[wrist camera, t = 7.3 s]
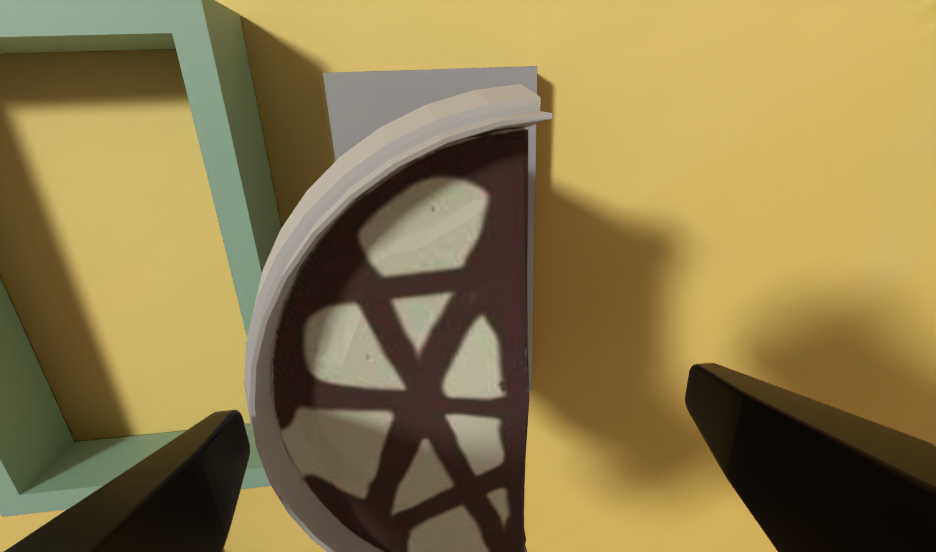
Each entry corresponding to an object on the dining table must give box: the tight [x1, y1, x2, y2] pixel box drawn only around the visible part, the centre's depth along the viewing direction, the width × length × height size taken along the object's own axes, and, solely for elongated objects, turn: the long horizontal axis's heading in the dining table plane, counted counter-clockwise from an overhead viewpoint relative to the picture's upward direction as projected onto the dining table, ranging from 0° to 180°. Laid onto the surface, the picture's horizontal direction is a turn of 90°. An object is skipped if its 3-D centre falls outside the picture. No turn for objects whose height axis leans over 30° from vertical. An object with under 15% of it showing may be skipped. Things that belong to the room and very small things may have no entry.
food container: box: [245, 84, 552, 552], centre depth 13 cm, size 12×6×10 cm, turn 2°
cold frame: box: [0, 0, 281, 517], centre depth 16 cm, size 18×12×3 cm, turn 2°
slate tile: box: [323, 66, 537, 391], centre depth 18 cm, size 14×8×1 cm, turn 2°
